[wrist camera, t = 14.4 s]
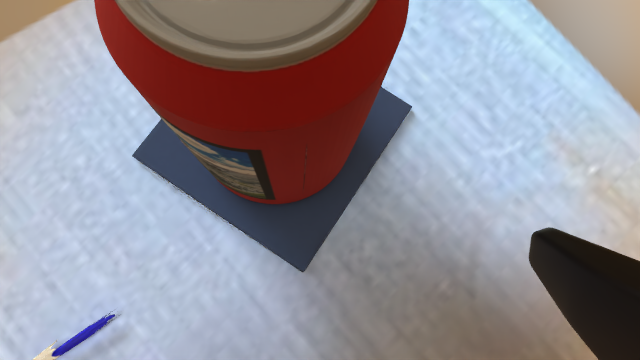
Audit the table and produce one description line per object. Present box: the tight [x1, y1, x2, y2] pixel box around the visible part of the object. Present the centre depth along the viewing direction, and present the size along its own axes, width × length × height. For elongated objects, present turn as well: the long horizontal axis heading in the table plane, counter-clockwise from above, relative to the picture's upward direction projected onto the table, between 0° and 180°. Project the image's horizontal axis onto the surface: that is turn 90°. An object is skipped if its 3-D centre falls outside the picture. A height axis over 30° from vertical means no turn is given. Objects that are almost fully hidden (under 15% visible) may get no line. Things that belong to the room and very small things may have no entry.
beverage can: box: [94, 0, 409, 204], centre depth 14 cm, size 7×7×12 cm
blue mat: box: [132, 87, 412, 272], centre depth 20 cm, size 9×9×1 cm
